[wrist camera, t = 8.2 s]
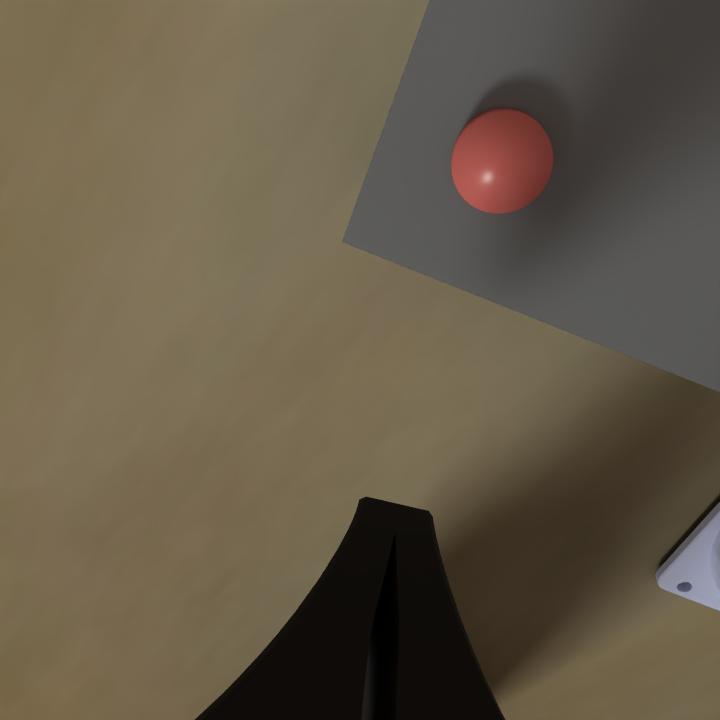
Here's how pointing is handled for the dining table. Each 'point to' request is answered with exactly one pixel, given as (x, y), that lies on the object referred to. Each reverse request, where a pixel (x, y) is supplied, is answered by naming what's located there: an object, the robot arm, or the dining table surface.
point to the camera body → (562, 169)
